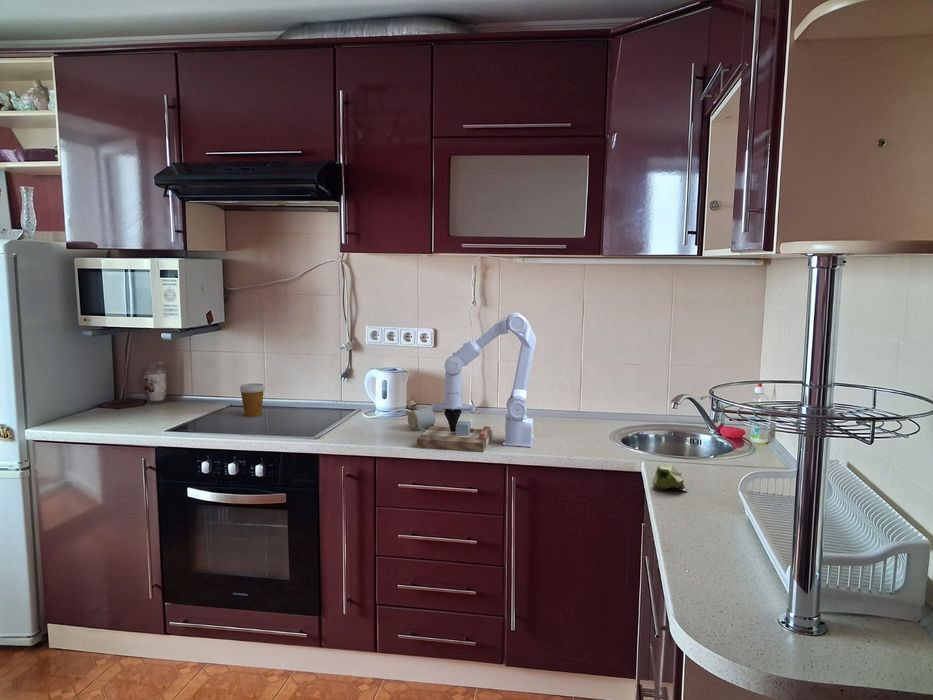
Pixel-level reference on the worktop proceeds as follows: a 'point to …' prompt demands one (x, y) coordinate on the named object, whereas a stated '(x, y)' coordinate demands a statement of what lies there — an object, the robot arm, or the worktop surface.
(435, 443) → the trap board
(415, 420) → the ceramic mug
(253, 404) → the disposable coffee cup
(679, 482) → the fruit
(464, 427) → the block
